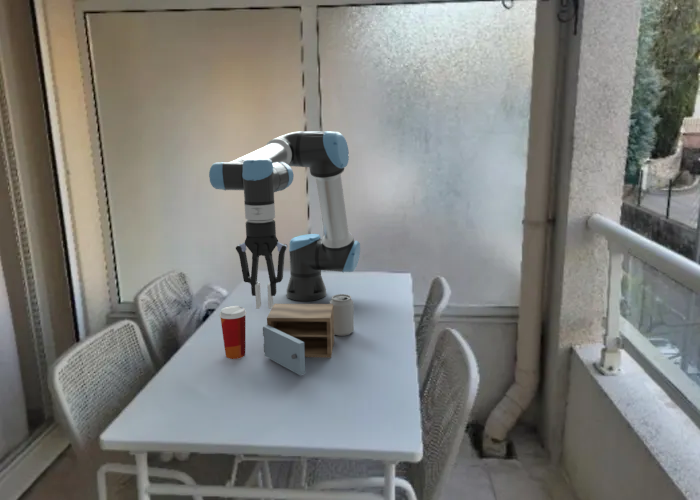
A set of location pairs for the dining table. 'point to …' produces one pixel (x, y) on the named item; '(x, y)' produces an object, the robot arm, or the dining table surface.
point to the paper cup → (233, 331)
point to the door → (284, 349)
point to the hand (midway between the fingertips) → (264, 306)
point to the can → (343, 314)
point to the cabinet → (306, 326)
